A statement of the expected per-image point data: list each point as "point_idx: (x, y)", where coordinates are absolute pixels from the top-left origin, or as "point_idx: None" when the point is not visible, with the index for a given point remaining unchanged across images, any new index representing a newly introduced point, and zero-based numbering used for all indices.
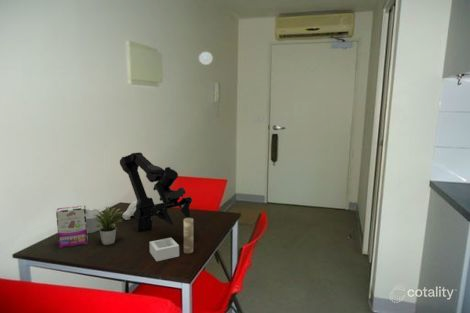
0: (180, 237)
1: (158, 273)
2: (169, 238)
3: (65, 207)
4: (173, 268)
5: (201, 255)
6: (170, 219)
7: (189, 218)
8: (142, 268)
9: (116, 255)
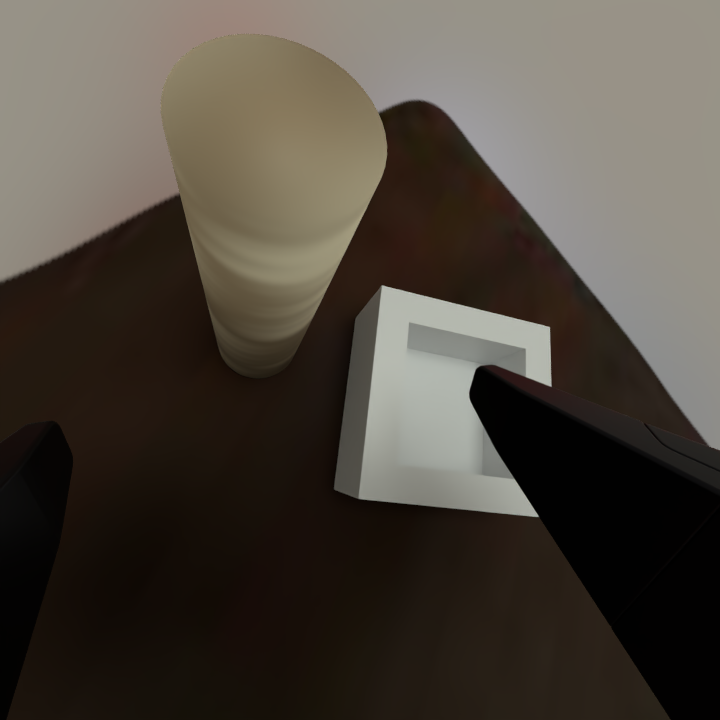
0: (129, 690)
1: (522, 232)
2: (385, 484)
3: None
4: (446, 220)
5: None
6: (562, 405)
7: (227, 146)
8: (572, 327)
9: None
